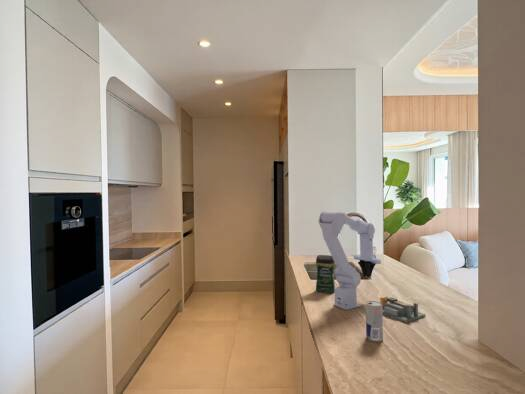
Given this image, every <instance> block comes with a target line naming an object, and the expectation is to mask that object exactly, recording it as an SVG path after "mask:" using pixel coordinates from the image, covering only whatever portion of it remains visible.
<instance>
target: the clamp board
mask: <svg viewBox="0 0 525 394" xmlns="http://www.w3.org/2000/svg"><path fill="white" fill-rule="evenodd" d="M379 298H380V300H379V302H380V303H381V304H382V310H383V316H386V317H389V318H392V319H395V320H397V321H400V322H403V323H405V324H408V323H411V322H414V321H416V320H419V319H423V318H426V313H423V312H420V311H419V304H418V303H417V302H413V305H415V308H413V309H411V305H412V304H410V303H409V304H410V305H407V307H404V306H401V305H397V304H394V303H391V302H388V301H384V299H386V298H389V297H388V296H386V295H383V296H380V297H379ZM397 301H400V302H403V303H405V302H404V301H401V300H398V299H397Z"/></svg>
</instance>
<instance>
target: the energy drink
mask: <svg viewBox="0 0 525 394" xmlns="http://www.w3.org/2000/svg"><path fill="white" fill-rule="evenodd" d="M383 317H384V315H383V310H382V304H381V303H380V301H376V300H370V301H369V300H368V301H366V304H365V330H366V331H365V335H366V339H367V340H368V341H370V342H374V343H380V342H382V341H383V340H384V323H383V322H384V320H383Z"/></svg>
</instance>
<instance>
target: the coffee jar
mask: <svg viewBox="0 0 525 394" xmlns="http://www.w3.org/2000/svg"><path fill="white" fill-rule="evenodd" d="M315 265H316V282H315V291H317V292H318V293H324V294H332V293H335V289H336V285H335V283H336V282H335V272H334V271H335V269H334V268H335V266H336V264H335V262H334V260H333V257H332V255H327V254H326V255H325V254H318V255H317V256H316V260H315Z"/></svg>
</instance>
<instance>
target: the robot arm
mask: <svg viewBox="0 0 525 394" xmlns="http://www.w3.org/2000/svg"><path fill="white" fill-rule="evenodd" d="M318 217H319V218H318V224H319V227H320V228H321V232H322V237H323V240H324V242H325V244H326V247H327V248H328V252H330V256H332V257H333V260H334V262H335V266H336V268H335V269H334V276H335V279H336V282H337V283H338V285H339V286H338V287H335V291H334V303H333V306H336V307H338V308H340V309H342V310H344V311H345V310H346V311H347V310H351V309H355V308H359V307H362V305H361V304H360V303H358V300H357V298H358V296H357V295H358V293H357V291H358V289H357V287H359V285H360V283H361V279H362V277H361V274H360V272H359V271H357V268H355V267H354V266H353V265H351V264H350V263H349V259H348V258H347V256H346V253H345V251H344V249H343V246H342V244H341V242H340V240H339V238H338V235H340V233H341V232H342V230H343V227H344V225H347V226H348V227H349V228H350V229H351V230H352V231H355V232H357V235H359V252H360V254H354V255H353V260H358V262H357V264H358V266H359V267H360V270H361V272H362V275H363V277H364V278H365V277H366V278H367V279H369V278H372V274H373V270H374V268H375V266H376V265H381V261H382V259H381V258H380V259H379V258H376V257H375V256H374V248H373V247H374V245H373V244H374V243H373V239H374V236H375V235H374V234H375V232H376V231H375V230H376V228H375V226H374V224H372V223H370V222H366V220H362V219H361V218H360V217H357V216H356V217H354V218H352V217H351V216H349V215H347V214H346V213H344V212H342V211H326V210H325V211H322V212H321V213H320V214H319V216H318Z"/></svg>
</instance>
